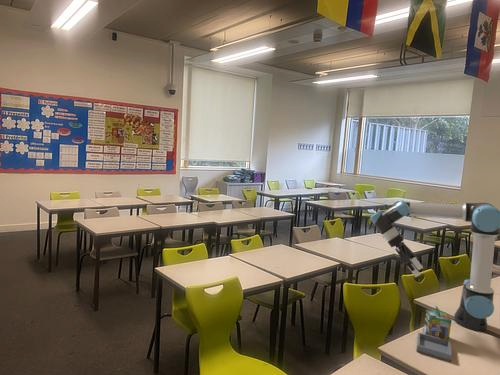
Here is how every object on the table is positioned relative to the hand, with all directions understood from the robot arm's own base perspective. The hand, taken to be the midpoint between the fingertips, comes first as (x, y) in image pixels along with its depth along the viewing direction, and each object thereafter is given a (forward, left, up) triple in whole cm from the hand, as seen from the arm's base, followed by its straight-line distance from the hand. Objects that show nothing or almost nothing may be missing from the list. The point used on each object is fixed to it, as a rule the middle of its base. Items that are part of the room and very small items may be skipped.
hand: (419, 272), depth 188 cm
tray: (-10, +27, -26) cm, 38 cm away
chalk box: (-11, +14, -26) cm, 31 cm away
